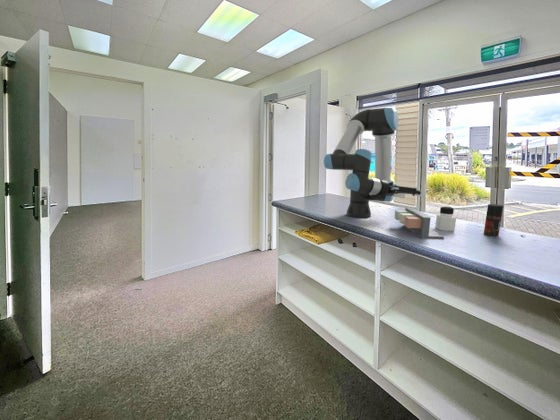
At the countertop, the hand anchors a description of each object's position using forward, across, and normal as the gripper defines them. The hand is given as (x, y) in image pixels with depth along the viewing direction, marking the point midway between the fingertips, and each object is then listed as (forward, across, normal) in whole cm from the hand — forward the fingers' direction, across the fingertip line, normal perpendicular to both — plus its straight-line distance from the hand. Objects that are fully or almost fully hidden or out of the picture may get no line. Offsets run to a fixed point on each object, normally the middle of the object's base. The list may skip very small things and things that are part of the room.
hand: (414, 195), depth 141 cm
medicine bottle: (+26, -4, -14) cm, 29 cm away
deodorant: (+39, +10, -14) cm, 43 cm away
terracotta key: (+2, +2, -15) cm, 16 cm away
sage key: (+7, -12, -12) cm, 18 cm away
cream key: (+4, -5, -13) cm, 15 cm away
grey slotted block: (+11, -3, -17) cm, 20 cm away
